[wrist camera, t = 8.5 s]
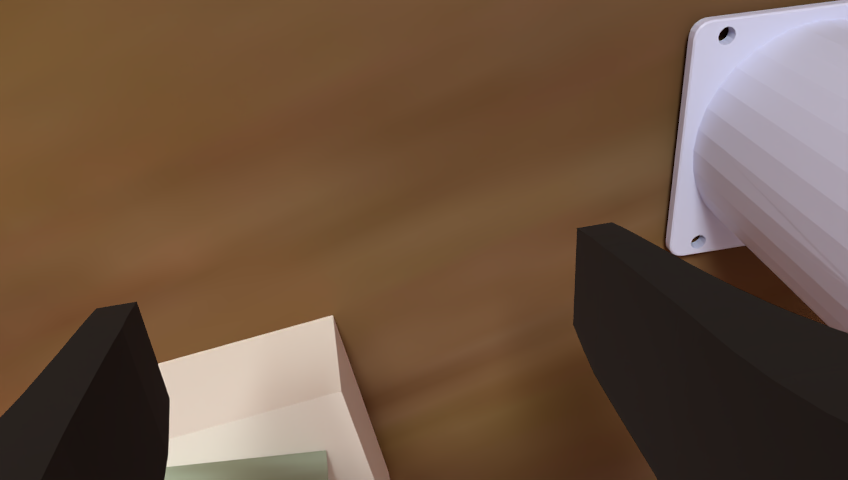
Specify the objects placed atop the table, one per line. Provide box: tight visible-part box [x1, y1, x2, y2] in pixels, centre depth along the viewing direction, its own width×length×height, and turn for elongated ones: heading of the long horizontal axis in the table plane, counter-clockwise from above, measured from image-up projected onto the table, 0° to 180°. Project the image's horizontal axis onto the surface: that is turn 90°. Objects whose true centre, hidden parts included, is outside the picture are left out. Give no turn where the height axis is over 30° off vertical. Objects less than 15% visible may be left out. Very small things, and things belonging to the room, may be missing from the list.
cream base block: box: [158, 315, 390, 480], centre depth 26 cm, size 8×8×4 cm
